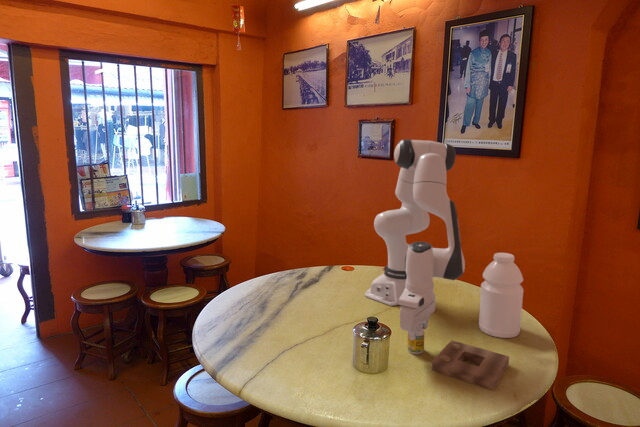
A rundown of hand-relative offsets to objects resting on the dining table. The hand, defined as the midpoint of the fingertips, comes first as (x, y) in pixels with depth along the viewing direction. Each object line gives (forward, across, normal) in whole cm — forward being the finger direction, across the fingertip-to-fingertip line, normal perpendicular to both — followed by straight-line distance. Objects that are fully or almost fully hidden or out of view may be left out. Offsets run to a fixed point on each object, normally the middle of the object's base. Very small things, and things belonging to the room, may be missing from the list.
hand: (418, 333), depth 142 cm
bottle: (+6, -31, +18) cm, 36 cm away
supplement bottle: (+6, 0, -1) cm, 6 cm away
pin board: (+6, 0, +17) cm, 18 cm away
